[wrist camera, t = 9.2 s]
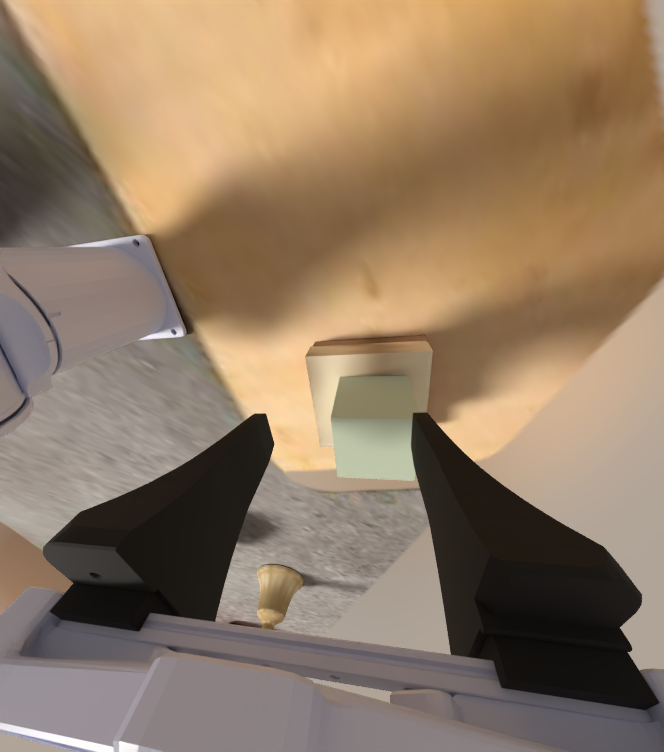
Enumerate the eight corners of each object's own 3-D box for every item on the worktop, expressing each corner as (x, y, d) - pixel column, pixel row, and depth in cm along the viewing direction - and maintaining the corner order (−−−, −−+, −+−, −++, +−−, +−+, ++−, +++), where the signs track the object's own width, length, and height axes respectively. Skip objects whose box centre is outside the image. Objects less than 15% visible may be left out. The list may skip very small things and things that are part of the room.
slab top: (323, 432, 24) (320, 446, 22) (310, 346, 20) (305, 356, 18) (419, 432, 23) (423, 448, 21) (426, 340, 18) (433, 350, 17)
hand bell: (313, 582, 42) (286, 749, 28) (281, 591, 46) (243, 744, 32) (279, 559, 40) (231, 727, 26) (248, 570, 43) (191, 725, 29)
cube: (344, 428, 21) (337, 476, 17) (339, 376, 19) (330, 418, 14) (404, 429, 20) (414, 480, 16) (408, 375, 18) (420, 419, 13)
